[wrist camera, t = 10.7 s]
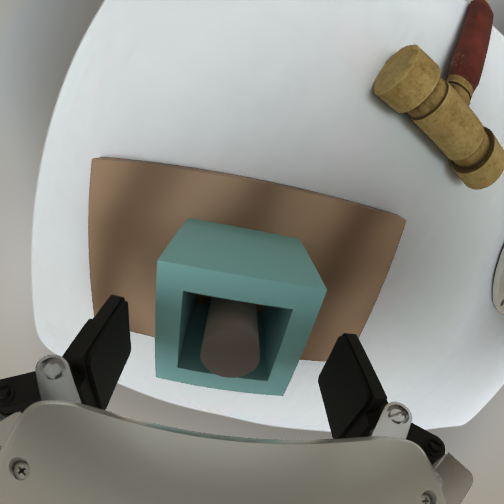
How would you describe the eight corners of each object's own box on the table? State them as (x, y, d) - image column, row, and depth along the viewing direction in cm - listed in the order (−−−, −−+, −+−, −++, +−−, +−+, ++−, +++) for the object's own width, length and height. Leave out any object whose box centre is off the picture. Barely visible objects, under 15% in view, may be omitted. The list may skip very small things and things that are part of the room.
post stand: (395, 214, 17) (476, 264, 9) (341, 350, 22) (371, 430, 14) (103, 157, 15) (13, 176, 7) (102, 310, 20) (53, 384, 12)
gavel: (458, -46, 5) (527, 32, 7) (434, -30, 9) (500, 38, 11) (400, 84, 10) (495, 196, 12) (362, 98, 15) (454, 185, 17)
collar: (300, 238, 16) (327, 289, 11) (273, 328, 19) (282, 395, 13) (187, 217, 16) (157, 260, 10) (177, 312, 18) (155, 376, 12)
